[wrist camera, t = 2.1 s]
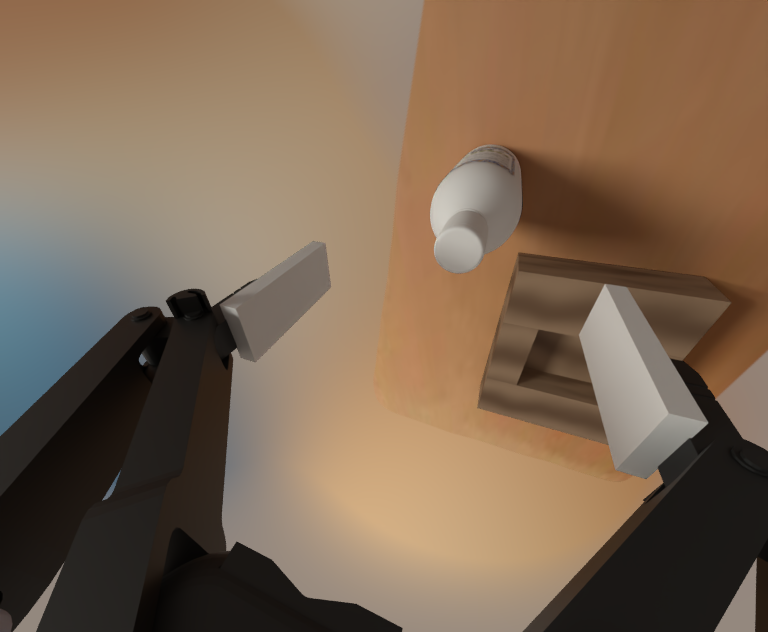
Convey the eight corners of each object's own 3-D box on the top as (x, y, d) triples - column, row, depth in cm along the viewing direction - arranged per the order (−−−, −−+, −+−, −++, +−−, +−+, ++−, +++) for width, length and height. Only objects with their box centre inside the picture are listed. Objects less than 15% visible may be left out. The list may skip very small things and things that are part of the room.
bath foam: (444, 164, 32) (381, 220, 17) (509, 129, 29) (500, 162, 14) (466, 221, 35) (428, 313, 20) (529, 196, 31) (538, 285, 16)
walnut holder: (518, 252, 35) (518, 270, 31) (704, 277, 30) (731, 302, 26) (480, 384, 49) (477, 407, 46) (602, 416, 44) (610, 445, 41)
